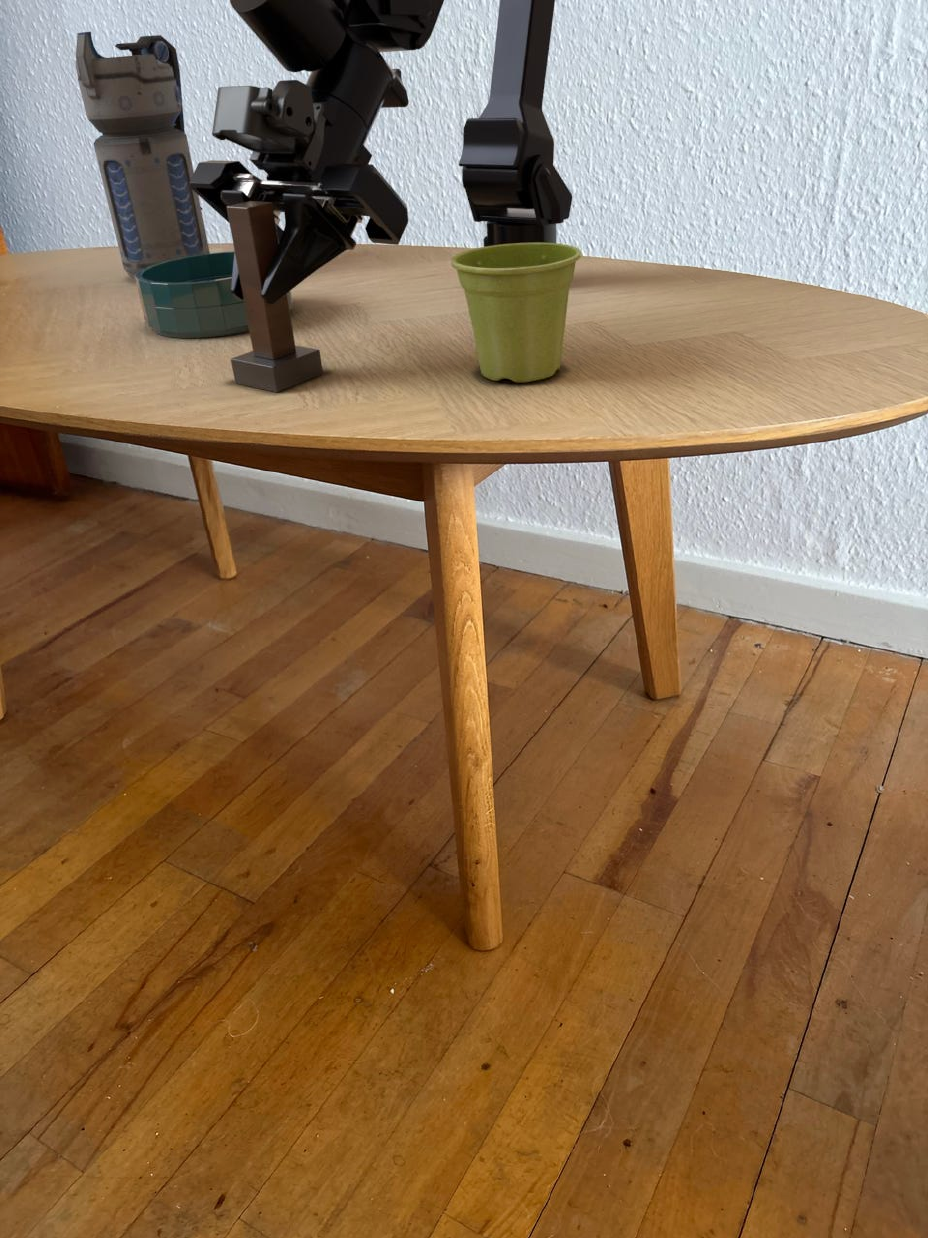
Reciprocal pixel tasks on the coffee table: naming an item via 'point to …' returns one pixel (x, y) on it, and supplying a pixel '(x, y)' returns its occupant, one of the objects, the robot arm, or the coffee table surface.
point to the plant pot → (518, 306)
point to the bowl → (192, 297)
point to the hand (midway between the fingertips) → (251, 298)
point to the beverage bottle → (142, 150)
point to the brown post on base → (265, 307)
